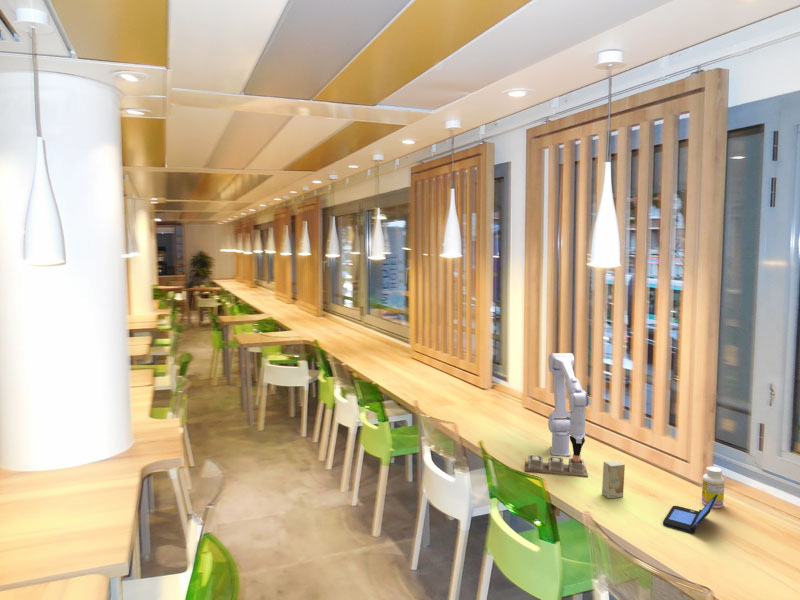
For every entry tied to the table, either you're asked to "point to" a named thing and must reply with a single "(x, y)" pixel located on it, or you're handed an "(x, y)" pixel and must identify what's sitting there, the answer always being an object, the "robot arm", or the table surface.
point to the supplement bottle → (713, 487)
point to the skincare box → (613, 479)
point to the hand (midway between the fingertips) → (576, 455)
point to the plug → (535, 458)
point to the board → (555, 467)
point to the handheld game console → (687, 517)
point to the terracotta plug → (576, 459)
